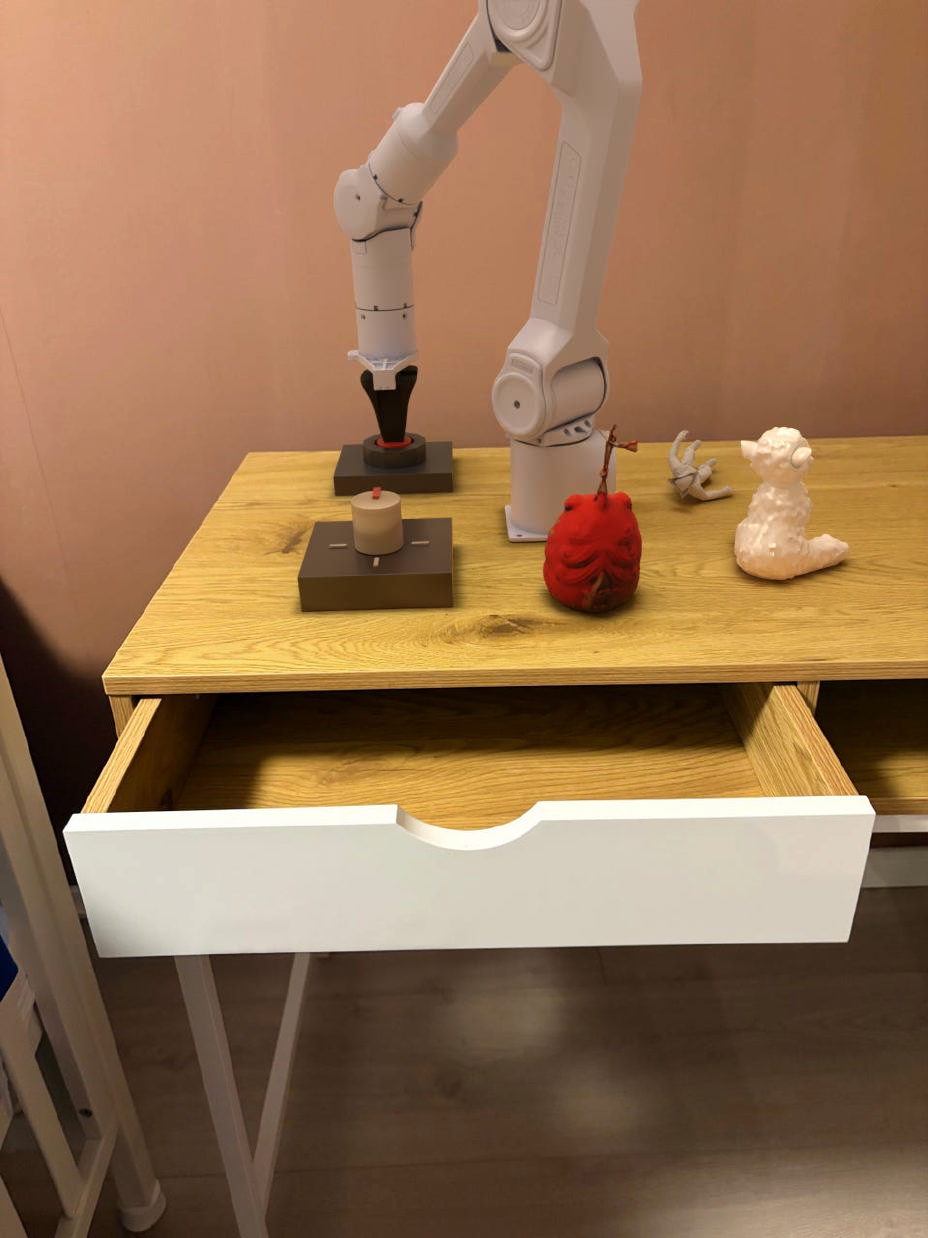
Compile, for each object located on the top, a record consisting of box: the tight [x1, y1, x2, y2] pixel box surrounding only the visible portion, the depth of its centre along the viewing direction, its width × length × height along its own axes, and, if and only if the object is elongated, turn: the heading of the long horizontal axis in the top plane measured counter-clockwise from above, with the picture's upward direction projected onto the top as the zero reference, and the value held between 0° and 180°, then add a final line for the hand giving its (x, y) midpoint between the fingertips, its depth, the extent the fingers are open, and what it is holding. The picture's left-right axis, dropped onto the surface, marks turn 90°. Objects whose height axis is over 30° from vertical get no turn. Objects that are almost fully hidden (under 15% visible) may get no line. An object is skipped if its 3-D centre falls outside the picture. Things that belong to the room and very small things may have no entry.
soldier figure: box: [666, 430, 735, 501], centre depth 93 cm, size 8×5×12 cm
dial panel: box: [296, 517, 454, 612], centre depth 78 cm, size 12×11×3 cm
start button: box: [377, 436, 412, 448], centre depth 98 cm, size 4×4×2 cm
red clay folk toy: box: [542, 423, 643, 613], centre depth 71 cm, size 8×7×15 cm
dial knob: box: [350, 487, 403, 555], centre depth 76 cm, size 4×4×4 cm
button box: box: [332, 431, 454, 497], centre depth 99 cm, size 12×10×4 cm
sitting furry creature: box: [733, 426, 850, 581], centre depth 76 cm, size 10×9×12 cm
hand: (393, 440), depth 98 cm, fingers closed, pressing on start button
